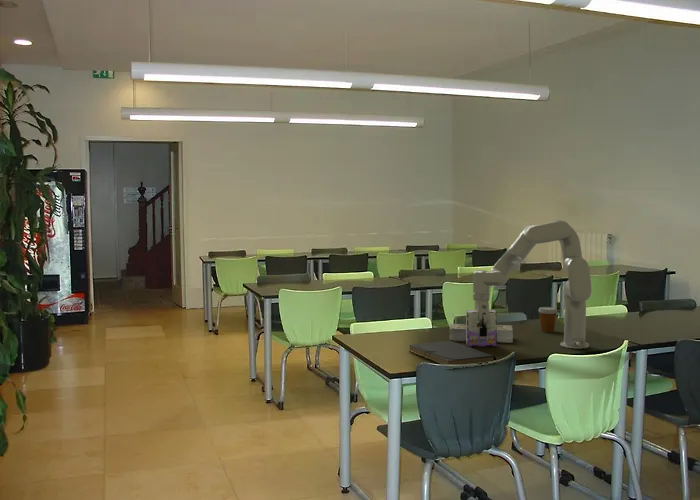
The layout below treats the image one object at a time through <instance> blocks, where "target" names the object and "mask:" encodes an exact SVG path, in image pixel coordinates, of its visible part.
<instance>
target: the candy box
mask: <svg viewBox="0 0 700 500" xmlns="http://www.w3.org/2000/svg"><path fill="white" fill-rule="evenodd" d="M465 315H466V316H465V320H466V321H465V324H466V341H465V342H466V343H465V344H466V346H467V347H497V346H498V342H497V325H498V324H497V311H496V309H489V318H490V321H489V322H488V321H487V336H480V328H481V327H480V322H479V321H478V312H477V311H475V309H473V310H472V309H471V310H469V309H467V310H466V311H465ZM481 321H483V320H481Z"/></svg>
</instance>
